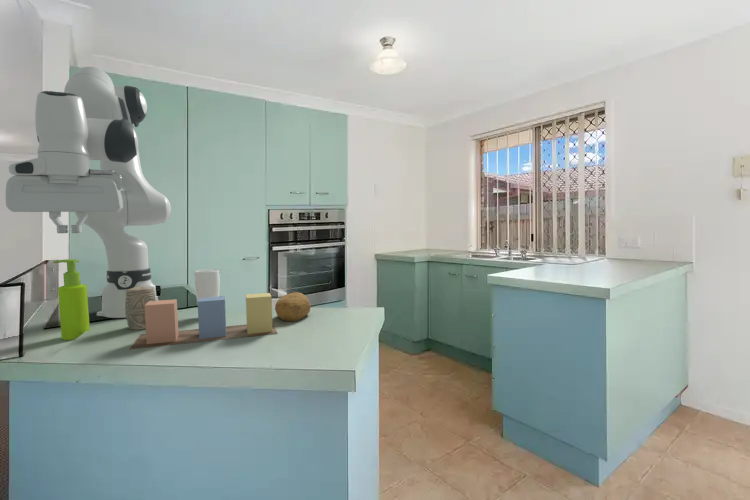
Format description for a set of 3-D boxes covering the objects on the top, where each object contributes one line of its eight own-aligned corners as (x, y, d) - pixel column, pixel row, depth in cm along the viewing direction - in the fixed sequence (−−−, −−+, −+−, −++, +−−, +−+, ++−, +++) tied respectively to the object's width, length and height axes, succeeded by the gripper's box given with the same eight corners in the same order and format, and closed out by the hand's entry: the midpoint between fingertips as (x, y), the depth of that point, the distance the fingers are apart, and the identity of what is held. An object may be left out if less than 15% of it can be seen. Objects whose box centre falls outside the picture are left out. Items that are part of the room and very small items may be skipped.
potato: (267, 328, 109) (267, 299, 108) (284, 315, 123) (283, 290, 122) (302, 329, 108) (302, 299, 108) (315, 316, 122) (314, 290, 122)
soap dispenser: (70, 333, 106) (64, 258, 104) (95, 333, 105) (90, 258, 104) (51, 340, 100) (45, 260, 98) (78, 340, 100) (72, 260, 98)
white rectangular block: (212, 324, 113) (210, 272, 112) (191, 323, 115) (189, 271, 113) (225, 318, 120) (224, 269, 119) (205, 317, 121) (203, 268, 120)
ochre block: (246, 328, 103) (245, 294, 102) (270, 326, 105) (269, 292, 104) (247, 334, 98) (246, 298, 98) (272, 331, 100) (271, 296, 100)
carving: (127, 331, 107) (124, 287, 106) (158, 327, 111) (156, 284, 110) (125, 337, 102) (123, 291, 101) (159, 333, 105) (156, 288, 104)
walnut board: (141, 340, 99) (140, 334, 99) (273, 327, 110) (272, 322, 110) (129, 355, 88) (129, 349, 88) (277, 339, 99) (277, 333, 98)
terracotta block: (150, 338, 96) (148, 301, 95) (178, 335, 98) (176, 299, 97) (146, 344, 91) (144, 305, 90) (175, 341, 93) (174, 303, 92)
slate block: (200, 333, 99) (199, 297, 99) (226, 330, 101) (224, 296, 101) (199, 338, 95) (197, 301, 94) (226, 336, 97) (224, 299, 96)
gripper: (124, 171, 92) (128, 231, 93) (14, 168, 85) (19, 233, 86) (117, 168, 86) (121, 232, 87) (-2, 165, 79) (4, 234, 80)
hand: (69, 233), depth 87 cm, fingers closed
